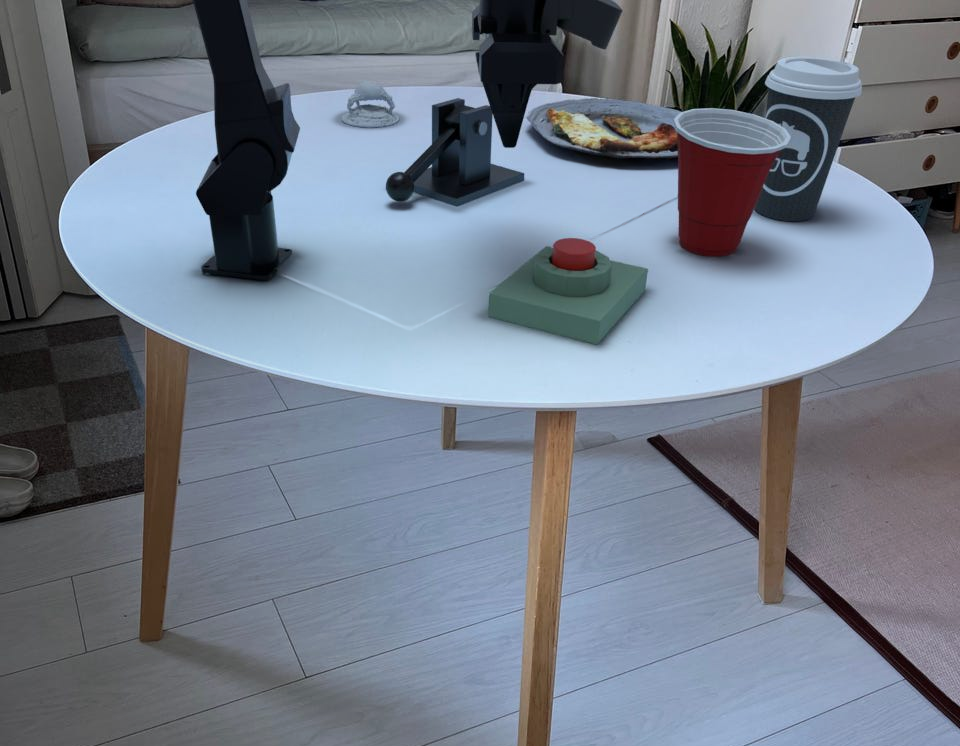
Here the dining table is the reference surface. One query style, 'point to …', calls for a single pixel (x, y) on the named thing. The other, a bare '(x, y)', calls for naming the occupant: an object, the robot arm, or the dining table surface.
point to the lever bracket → (464, 159)
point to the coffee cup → (805, 131)
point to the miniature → (370, 107)
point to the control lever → (425, 158)
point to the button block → (568, 296)
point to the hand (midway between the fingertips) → (509, 146)
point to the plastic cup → (721, 175)
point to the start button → (573, 254)
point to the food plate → (608, 127)
